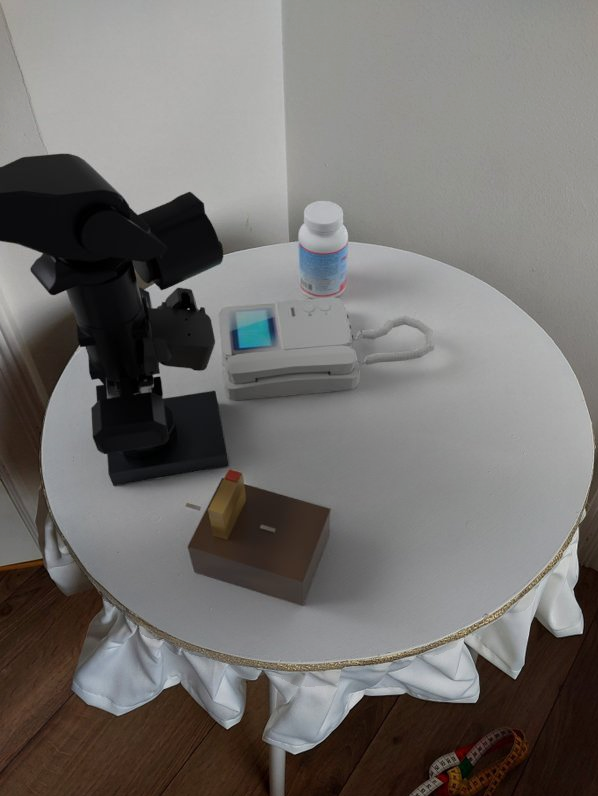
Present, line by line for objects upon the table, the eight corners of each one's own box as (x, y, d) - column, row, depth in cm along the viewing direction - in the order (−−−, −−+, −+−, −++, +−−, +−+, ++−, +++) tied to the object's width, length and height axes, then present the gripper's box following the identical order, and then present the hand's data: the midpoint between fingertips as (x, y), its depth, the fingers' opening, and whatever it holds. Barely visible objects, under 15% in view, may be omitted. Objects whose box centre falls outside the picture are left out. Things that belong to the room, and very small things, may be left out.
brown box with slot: (175, 566, 69) (167, 539, 65) (209, 500, 74) (203, 470, 70) (303, 606, 67) (302, 580, 63) (329, 535, 72) (330, 507, 68)
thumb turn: (227, 540, 65) (222, 512, 62) (213, 536, 66) (207, 508, 62) (246, 500, 68) (243, 470, 64) (232, 495, 68) (228, 466, 65)
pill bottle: (351, 297, 93) (356, 223, 84) (306, 306, 92) (306, 231, 83) (337, 267, 97) (340, 193, 88) (293, 275, 95) (292, 201, 86)
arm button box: (112, 486, 75) (104, 463, 71) (108, 420, 80) (100, 396, 77) (229, 466, 77) (225, 443, 73) (217, 403, 82) (213, 379, 79)
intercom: (446, 355, 81) (222, 375, 78) (440, 382, 85) (226, 402, 82) (420, 278, 89) (216, 294, 86) (416, 305, 93) (219, 321, 90)
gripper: (217, 370, 58) (233, 481, 70) (190, 229, 69) (207, 346, 81) (73, 391, 56) (115, 501, 68) (68, 243, 67) (106, 361, 79)
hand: (141, 421), depth 74 cm, fingers closed, pressing on arm button
